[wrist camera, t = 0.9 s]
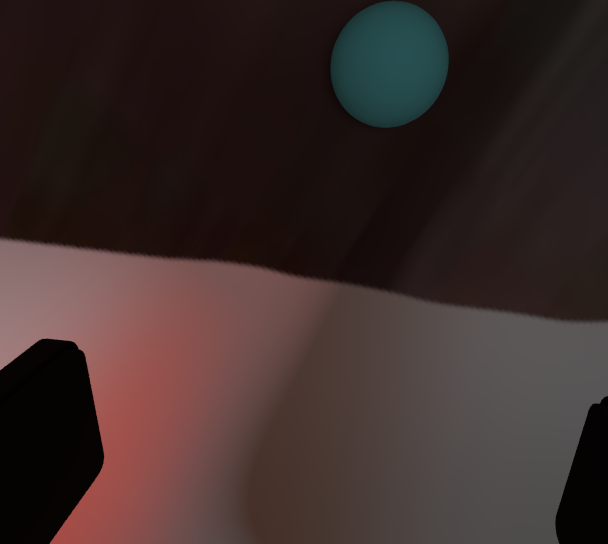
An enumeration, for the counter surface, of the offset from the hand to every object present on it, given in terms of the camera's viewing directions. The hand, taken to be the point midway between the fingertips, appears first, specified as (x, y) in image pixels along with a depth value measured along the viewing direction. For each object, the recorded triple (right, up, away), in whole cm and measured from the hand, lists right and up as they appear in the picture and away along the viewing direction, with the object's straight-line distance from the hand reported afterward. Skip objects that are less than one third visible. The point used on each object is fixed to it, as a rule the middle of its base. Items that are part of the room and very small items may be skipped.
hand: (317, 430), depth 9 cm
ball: (+4, +14, +16) cm, 21 cm away
